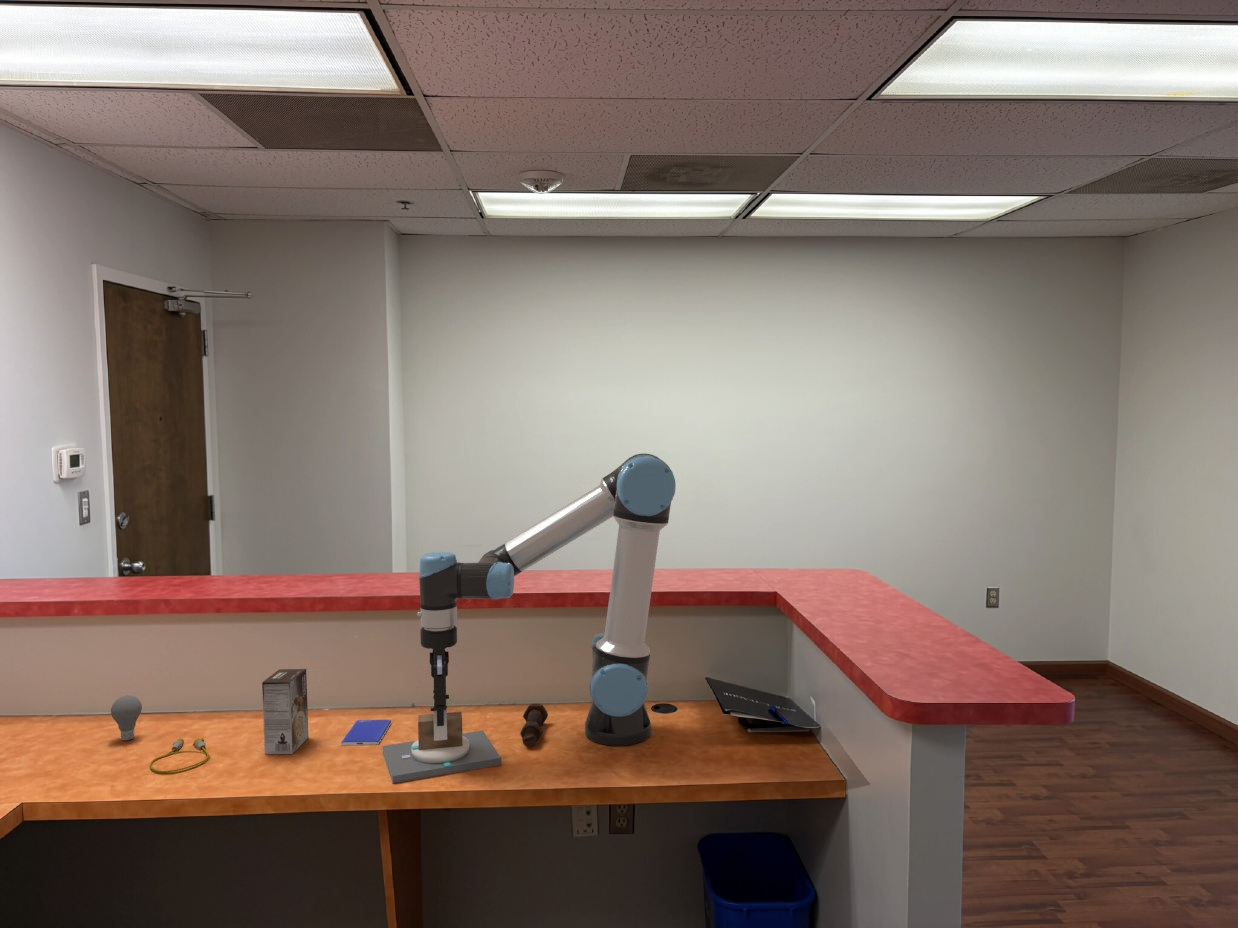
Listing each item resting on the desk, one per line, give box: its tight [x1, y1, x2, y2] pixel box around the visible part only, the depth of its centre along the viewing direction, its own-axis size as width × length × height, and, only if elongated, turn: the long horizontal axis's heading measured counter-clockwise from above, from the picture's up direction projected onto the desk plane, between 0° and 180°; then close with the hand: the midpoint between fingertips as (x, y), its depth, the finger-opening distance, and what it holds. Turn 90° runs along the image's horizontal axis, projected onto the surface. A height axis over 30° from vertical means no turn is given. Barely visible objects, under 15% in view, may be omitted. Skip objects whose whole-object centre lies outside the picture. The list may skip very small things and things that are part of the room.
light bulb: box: [110, 694, 143, 741], centre depth 184 cm, size 6×6×10 cm
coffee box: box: [261, 668, 309, 755], centre depth 180 cm, size 9×6×16 cm
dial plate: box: [382, 730, 502, 784], centre depth 173 cm, size 22×16×2 cm
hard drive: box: [340, 719, 392, 746], centre depth 187 cm, size 2×8×12 cm
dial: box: [411, 711, 469, 763], centre depth 173 cm, size 12×12×8 cm
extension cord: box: [149, 738, 212, 775], centre depth 174 cm, size 12×16×2 cm
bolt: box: [519, 703, 549, 748], centre depth 186 cm, size 6×5×15 cm
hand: (440, 734), depth 173 cm, fingers closed on dial, 4 cm apart
